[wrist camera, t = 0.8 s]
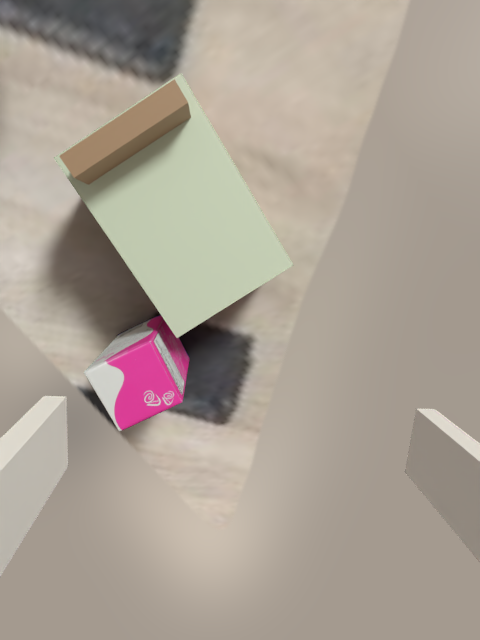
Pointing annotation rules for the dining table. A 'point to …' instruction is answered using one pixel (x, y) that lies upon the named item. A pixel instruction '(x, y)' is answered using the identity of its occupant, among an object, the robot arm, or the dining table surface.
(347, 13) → the dining table surface
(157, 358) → the supplement box
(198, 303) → the lid
